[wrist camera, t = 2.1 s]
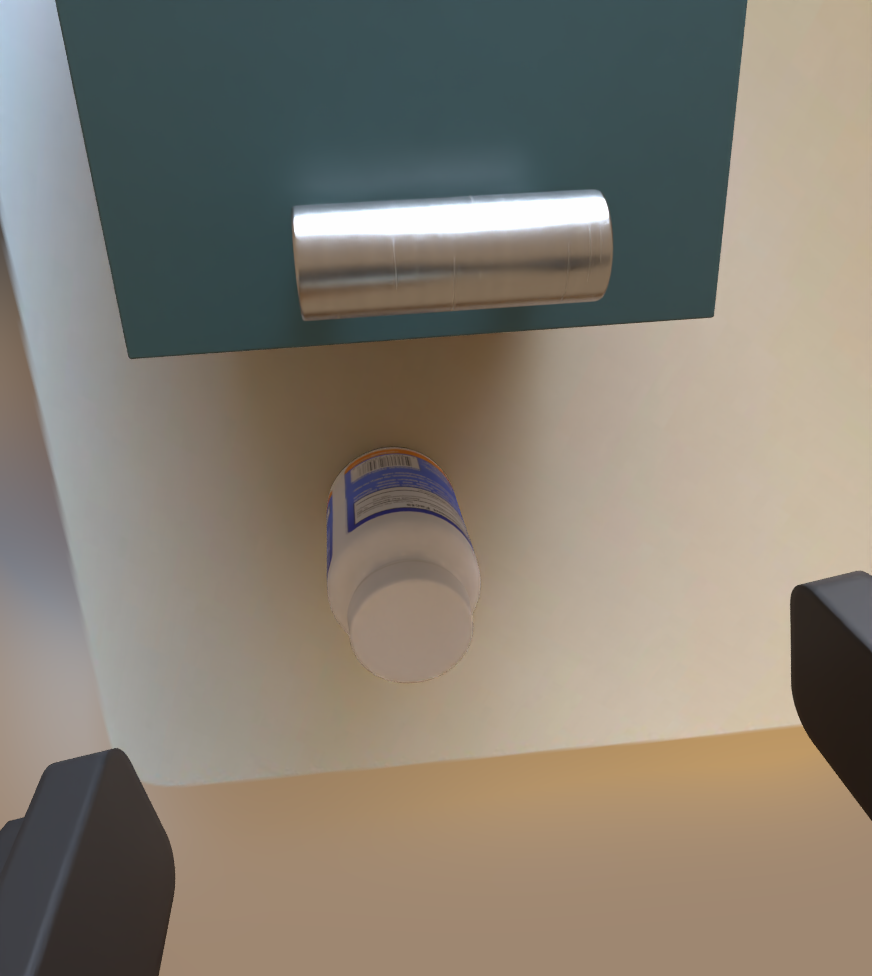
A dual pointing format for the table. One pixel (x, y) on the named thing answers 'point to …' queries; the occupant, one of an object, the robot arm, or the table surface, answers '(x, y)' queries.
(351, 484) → the pill bottle
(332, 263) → the lid
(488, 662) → the table surface
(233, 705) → the table surface
